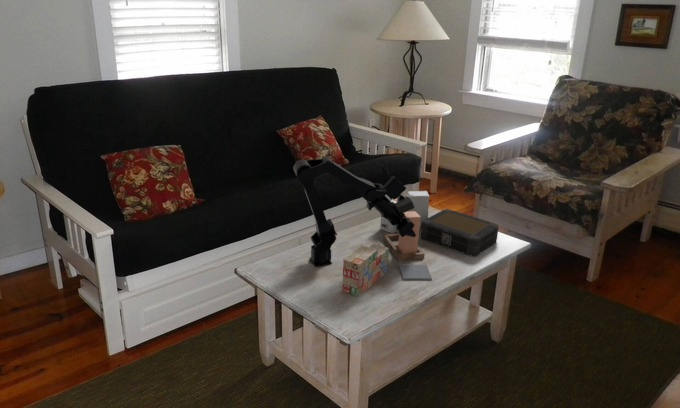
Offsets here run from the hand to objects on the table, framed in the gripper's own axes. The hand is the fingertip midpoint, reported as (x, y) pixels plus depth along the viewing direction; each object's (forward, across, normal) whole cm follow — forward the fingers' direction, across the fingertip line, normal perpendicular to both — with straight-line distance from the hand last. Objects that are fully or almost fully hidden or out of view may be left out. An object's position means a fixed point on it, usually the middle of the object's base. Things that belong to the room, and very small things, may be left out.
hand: (412, 232), depth 211 cm
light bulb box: (+7, +24, +5) cm, 26 cm away
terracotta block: (+5, 0, +7) cm, 9 cm away
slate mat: (+3, -15, +9) cm, 17 cm away
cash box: (+23, +7, -10) cm, 26 cm away
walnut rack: (+5, +4, +7) cm, 10 cm away
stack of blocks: (-10, -16, +22) cm, 29 cm away
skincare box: (+14, +24, -2) cm, 28 cm away
